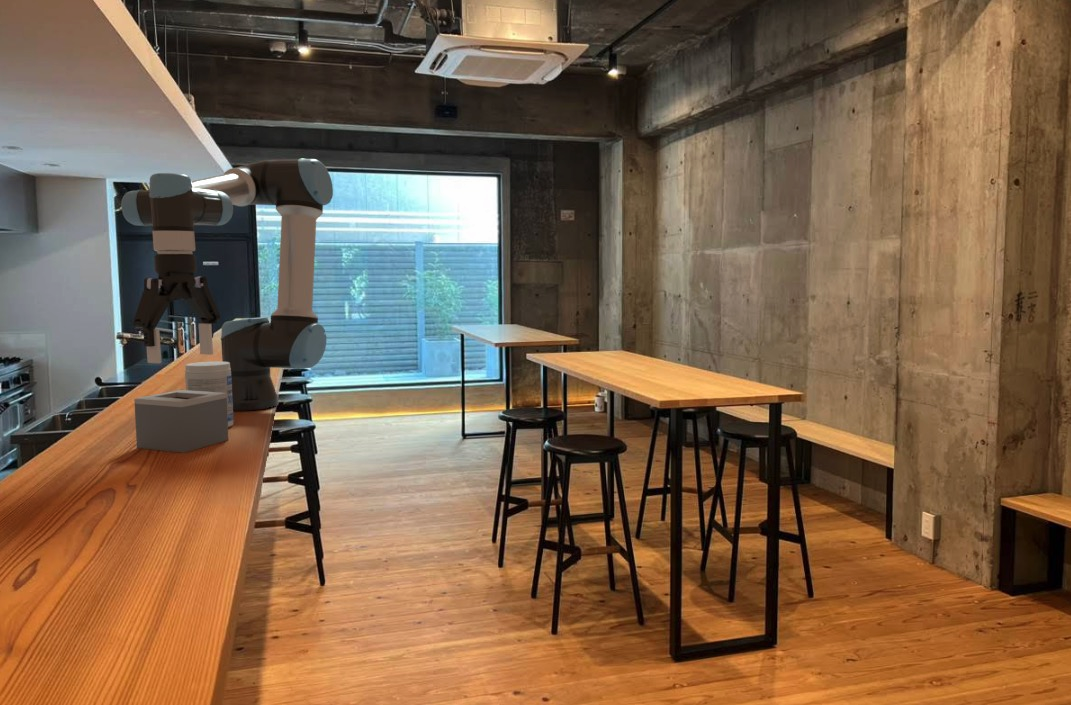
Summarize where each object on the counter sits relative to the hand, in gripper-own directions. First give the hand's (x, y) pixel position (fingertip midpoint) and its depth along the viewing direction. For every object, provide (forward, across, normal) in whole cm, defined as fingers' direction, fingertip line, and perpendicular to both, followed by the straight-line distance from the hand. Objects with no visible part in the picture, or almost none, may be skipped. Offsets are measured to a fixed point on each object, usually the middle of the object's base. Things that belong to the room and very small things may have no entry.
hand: (181, 358), depth 150 cm
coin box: (+17, +1, 0) cm, 18 cm away
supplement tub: (+18, -14, -7) cm, 24 cm away
